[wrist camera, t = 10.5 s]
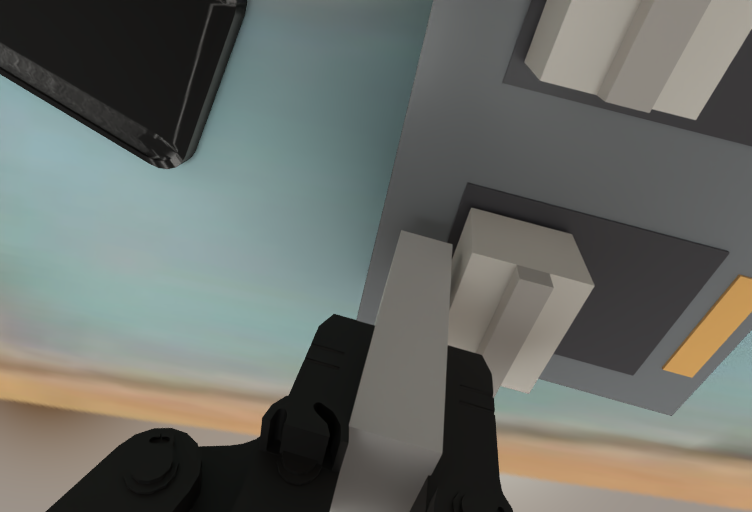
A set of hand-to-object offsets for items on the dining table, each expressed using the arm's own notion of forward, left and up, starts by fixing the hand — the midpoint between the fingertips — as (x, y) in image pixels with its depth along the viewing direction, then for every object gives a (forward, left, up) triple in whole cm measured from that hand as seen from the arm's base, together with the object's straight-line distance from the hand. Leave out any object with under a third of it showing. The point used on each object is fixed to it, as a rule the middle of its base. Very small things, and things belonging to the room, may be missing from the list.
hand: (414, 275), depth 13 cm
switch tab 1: (0, +3, -1) cm, 3 cm away
